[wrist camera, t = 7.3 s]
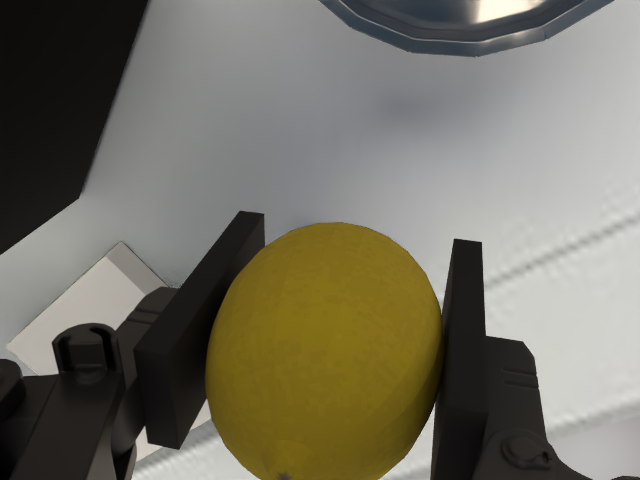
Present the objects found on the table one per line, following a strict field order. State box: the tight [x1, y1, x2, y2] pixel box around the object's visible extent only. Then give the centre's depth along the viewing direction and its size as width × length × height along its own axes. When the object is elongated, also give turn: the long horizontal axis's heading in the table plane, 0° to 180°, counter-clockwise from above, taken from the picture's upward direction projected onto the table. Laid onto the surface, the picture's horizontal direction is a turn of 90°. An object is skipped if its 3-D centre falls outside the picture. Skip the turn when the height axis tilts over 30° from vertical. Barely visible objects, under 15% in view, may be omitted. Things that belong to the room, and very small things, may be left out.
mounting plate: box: [5, 241, 211, 461], centre depth 41 cm, size 18×13×2 cm
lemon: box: [205, 222, 445, 480], centre depth 14 cm, size 6×6×8 cm
